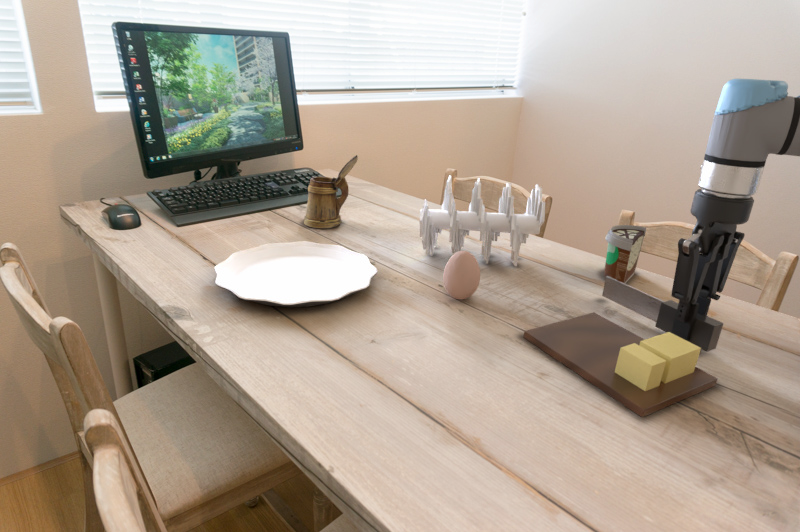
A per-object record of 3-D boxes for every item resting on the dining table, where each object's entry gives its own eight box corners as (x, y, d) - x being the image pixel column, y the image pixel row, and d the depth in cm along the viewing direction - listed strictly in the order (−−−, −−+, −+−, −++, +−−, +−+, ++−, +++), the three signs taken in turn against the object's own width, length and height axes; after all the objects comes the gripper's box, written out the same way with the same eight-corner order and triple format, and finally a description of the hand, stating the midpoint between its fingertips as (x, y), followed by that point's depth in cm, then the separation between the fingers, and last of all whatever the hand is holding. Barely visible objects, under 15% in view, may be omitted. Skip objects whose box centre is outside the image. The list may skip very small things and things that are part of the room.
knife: (715, 348, 82) (723, 323, 81) (706, 352, 81) (714, 326, 79) (606, 296, 99) (611, 273, 97) (598, 298, 98) (602, 275, 96)
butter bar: (693, 372, 75) (701, 347, 74) (665, 383, 72) (672, 358, 70) (662, 355, 79) (669, 331, 78) (633, 365, 76) (640, 341, 74)
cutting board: (715, 385, 74) (718, 378, 74) (641, 417, 67) (644, 409, 66) (592, 318, 92) (594, 312, 91) (523, 337, 84) (524, 330, 84)
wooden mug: (348, 233, 126) (350, 158, 120) (297, 225, 130) (296, 151, 123) (362, 223, 134) (364, 152, 128) (313, 216, 138) (313, 146, 131)
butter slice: (659, 385, 71) (666, 360, 70) (645, 391, 70) (652, 365, 68) (628, 367, 75) (634, 342, 74) (614, 372, 74) (620, 347, 72)
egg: (484, 303, 95) (490, 255, 92) (453, 308, 92) (458, 260, 89) (464, 288, 101) (469, 243, 97) (434, 293, 98) (438, 247, 94)
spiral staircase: (422, 262, 122) (533, 270, 119) (412, 255, 105) (542, 264, 101) (428, 184, 124) (538, 189, 120) (419, 165, 106) (547, 170, 102)
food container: (607, 263, 117) (616, 220, 113) (636, 271, 114) (647, 226, 110) (590, 280, 108) (599, 233, 104) (621, 288, 105) (632, 240, 101)
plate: (184, 277, 98) (182, 265, 97) (307, 242, 119) (306, 232, 118) (283, 334, 81) (282, 320, 80) (406, 281, 102) (407, 270, 101)
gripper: (729, 182, 83) (692, 316, 92) (668, 190, 76) (634, 335, 84) (781, 193, 77) (736, 335, 86) (719, 203, 70) (677, 357, 78)
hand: (685, 335), depth 85 cm, fingers closed on knife, 2 cm apart
